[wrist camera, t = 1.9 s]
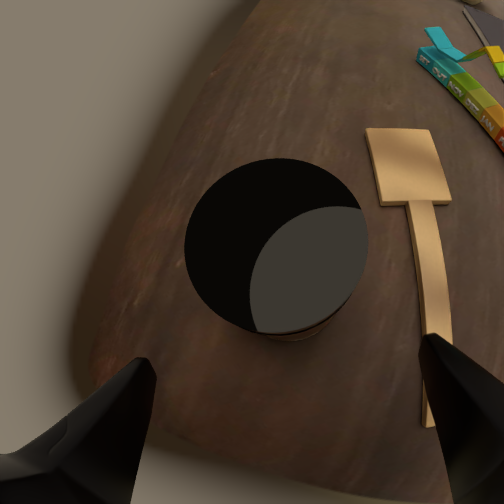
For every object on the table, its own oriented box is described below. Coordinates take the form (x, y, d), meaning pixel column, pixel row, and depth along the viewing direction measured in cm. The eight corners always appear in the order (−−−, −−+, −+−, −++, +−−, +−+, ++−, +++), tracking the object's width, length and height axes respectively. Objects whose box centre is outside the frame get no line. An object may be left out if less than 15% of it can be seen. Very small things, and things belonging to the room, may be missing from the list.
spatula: (468, 413, 15) (474, 415, 14) (394, 429, 16) (398, 433, 15) (426, 134, 23) (429, 128, 22) (364, 133, 24) (365, 126, 23)
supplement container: (319, 231, 22) (323, 137, 12) (355, 321, 19) (399, 291, 9) (230, 263, 22) (169, 193, 12) (258, 355, 20) (209, 358, 10)
